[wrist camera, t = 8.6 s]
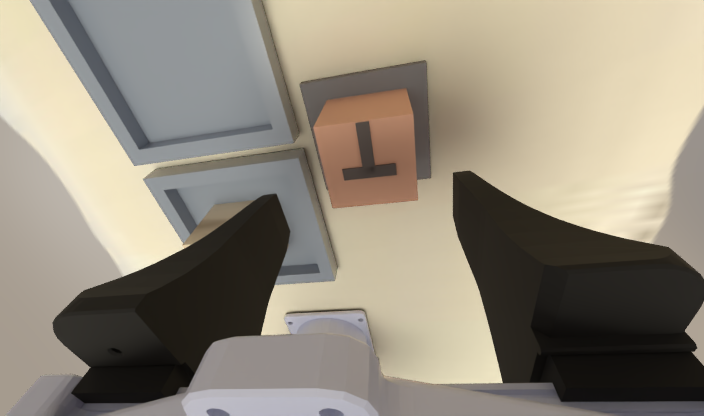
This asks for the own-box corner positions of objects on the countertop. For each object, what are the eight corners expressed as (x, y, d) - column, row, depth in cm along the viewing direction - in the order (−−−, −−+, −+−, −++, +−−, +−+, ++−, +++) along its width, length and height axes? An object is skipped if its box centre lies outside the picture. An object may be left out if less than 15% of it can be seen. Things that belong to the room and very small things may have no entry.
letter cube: (410, 161, 19) (418, 201, 16) (340, 169, 20) (331, 209, 16) (406, 88, 17) (413, 114, 13) (325, 100, 18) (311, 128, 14)
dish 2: (337, 267, 26) (335, 280, 25) (219, 276, 28) (212, 289, 27) (303, 148, 20) (298, 158, 19) (155, 168, 22) (142, 179, 21)
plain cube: (288, 245, 25) (272, 289, 21) (237, 249, 25) (212, 292, 22) (271, 198, 22) (249, 238, 18) (214, 204, 23) (182, 245, 19)
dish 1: (299, 133, 20) (293, 142, 18) (148, 156, 21) (134, 165, 20) (232, -103, 14) (217, -113, 12) (29, -45, 15) (-1, -48, 14)
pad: (429, 173, 21) (431, 178, 20) (328, 185, 22) (327, 190, 21) (425, 60, 17) (426, 62, 16) (301, 81, 18) (299, 84, 17)
